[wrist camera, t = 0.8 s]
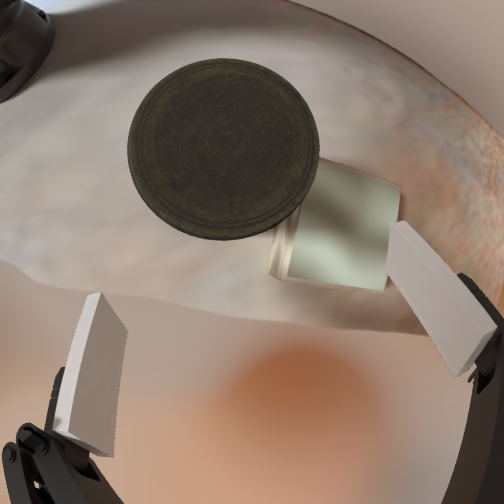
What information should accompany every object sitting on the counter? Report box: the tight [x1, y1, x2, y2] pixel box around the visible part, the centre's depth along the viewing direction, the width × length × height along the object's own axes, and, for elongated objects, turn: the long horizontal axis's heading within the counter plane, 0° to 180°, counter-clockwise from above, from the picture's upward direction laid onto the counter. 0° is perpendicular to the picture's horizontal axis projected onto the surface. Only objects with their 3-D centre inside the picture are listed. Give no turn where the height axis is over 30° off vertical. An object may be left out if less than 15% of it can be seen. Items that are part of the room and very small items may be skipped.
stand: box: [267, 157, 401, 295], centre depth 29 cm, size 12×12×5 cm
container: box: [127, 58, 320, 241], centre depth 20 cm, size 9×9×18 cm
